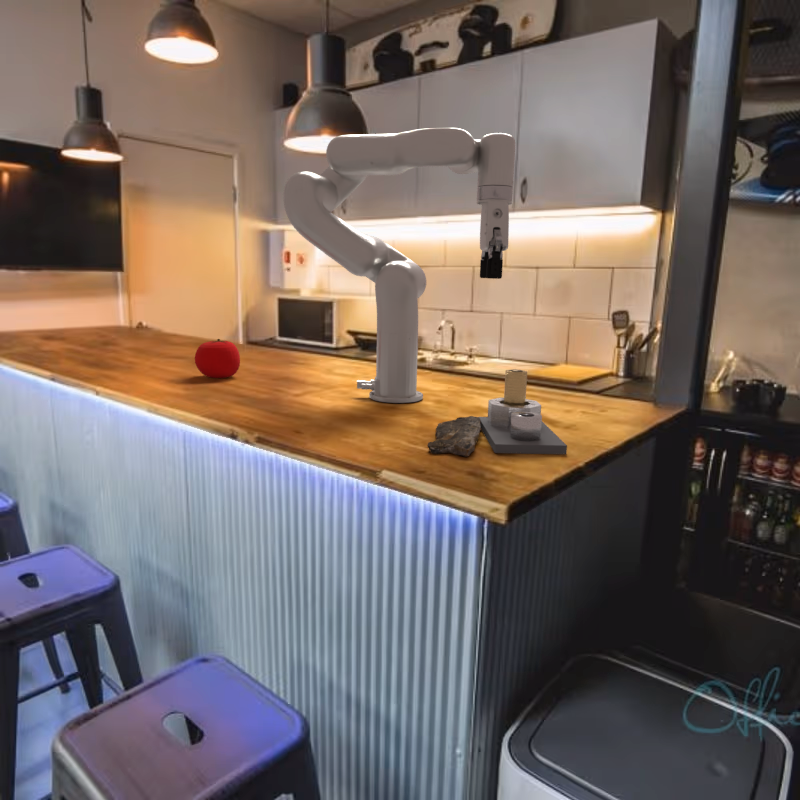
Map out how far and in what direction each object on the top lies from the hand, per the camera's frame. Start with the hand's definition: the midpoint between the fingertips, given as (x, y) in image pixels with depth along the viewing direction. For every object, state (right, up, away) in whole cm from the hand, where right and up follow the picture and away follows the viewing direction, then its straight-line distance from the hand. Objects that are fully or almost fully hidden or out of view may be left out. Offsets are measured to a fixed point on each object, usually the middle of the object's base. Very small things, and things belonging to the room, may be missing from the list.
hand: (490, 278), depth 135 cm
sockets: (+2, -32, -22) cm, 39 cm away
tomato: (-69, -21, +33) cm, 79 cm away
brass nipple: (+2, -31, -18) cm, 36 cm away
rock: (-9, -34, -25) cm, 43 cm away
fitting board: (+2, -34, -23) cm, 41 cm away
